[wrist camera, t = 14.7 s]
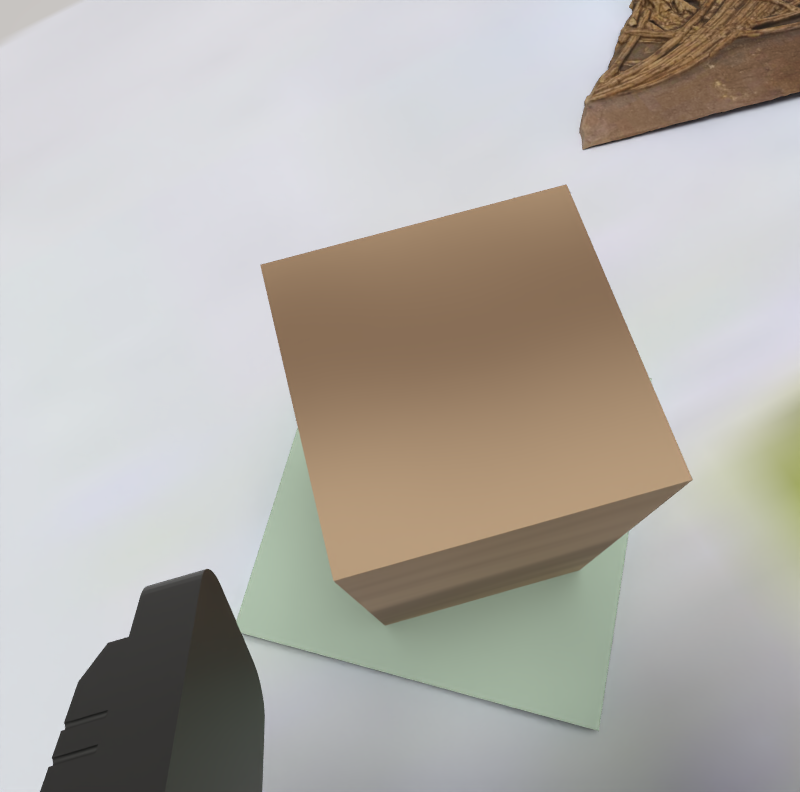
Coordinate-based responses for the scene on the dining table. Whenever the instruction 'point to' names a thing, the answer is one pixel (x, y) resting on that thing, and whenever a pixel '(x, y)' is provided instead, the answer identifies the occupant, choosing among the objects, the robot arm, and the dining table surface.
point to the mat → (439, 620)
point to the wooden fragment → (693, 64)
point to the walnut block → (468, 404)
